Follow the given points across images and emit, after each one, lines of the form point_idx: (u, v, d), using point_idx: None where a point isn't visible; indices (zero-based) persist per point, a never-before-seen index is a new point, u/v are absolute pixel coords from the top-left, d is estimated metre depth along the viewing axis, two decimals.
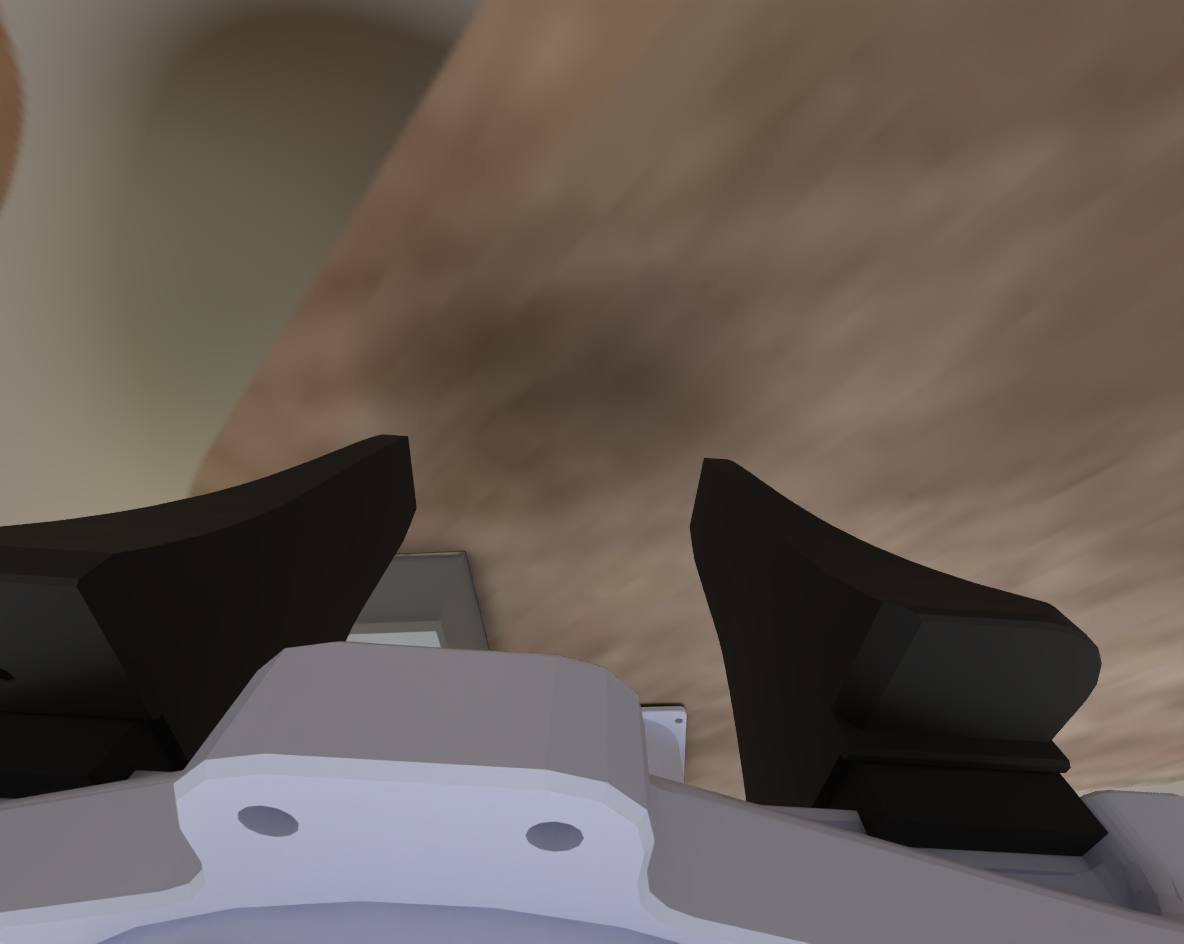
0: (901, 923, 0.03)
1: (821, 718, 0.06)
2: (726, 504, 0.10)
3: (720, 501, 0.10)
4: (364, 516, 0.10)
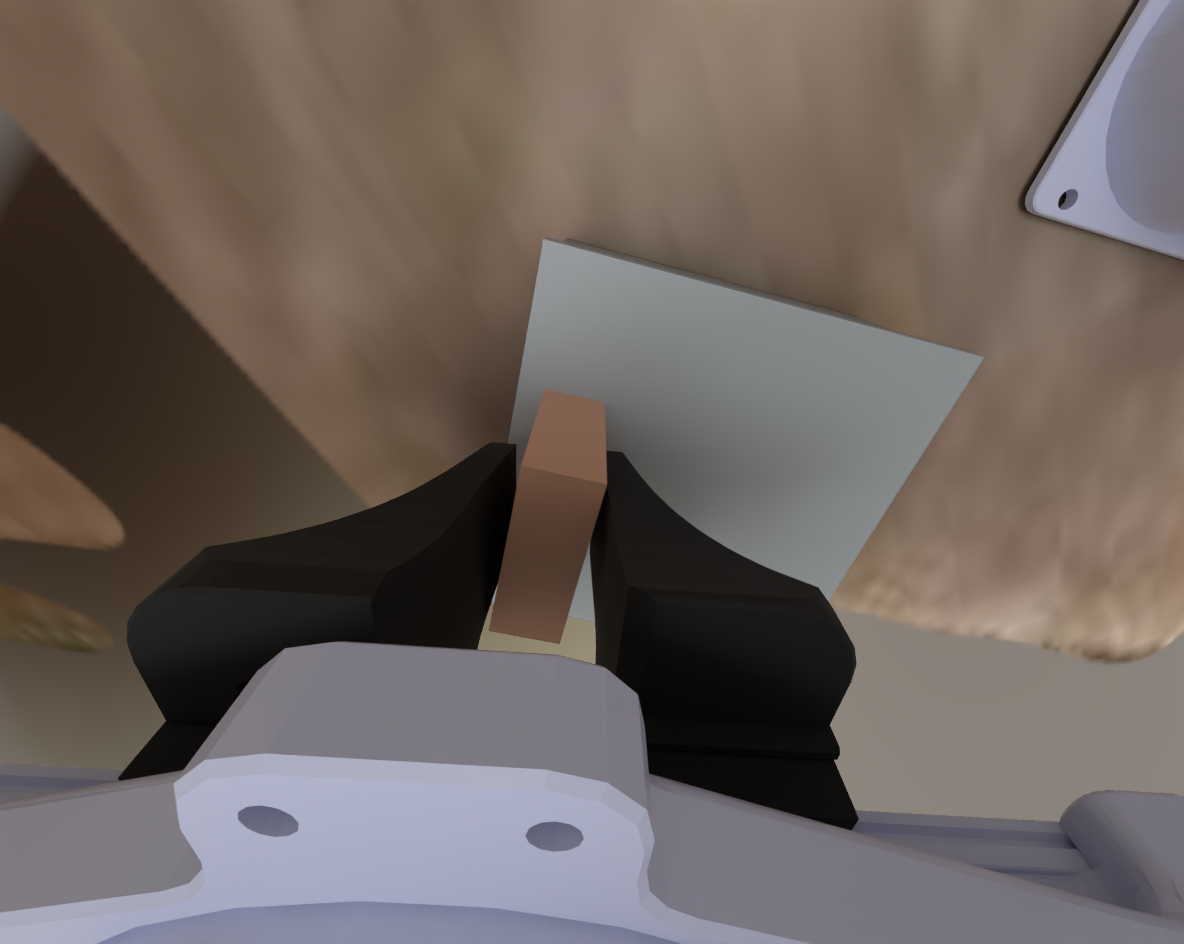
0: (901, 922, 0.03)
1: None
2: None
3: None
4: (493, 525, 0.10)
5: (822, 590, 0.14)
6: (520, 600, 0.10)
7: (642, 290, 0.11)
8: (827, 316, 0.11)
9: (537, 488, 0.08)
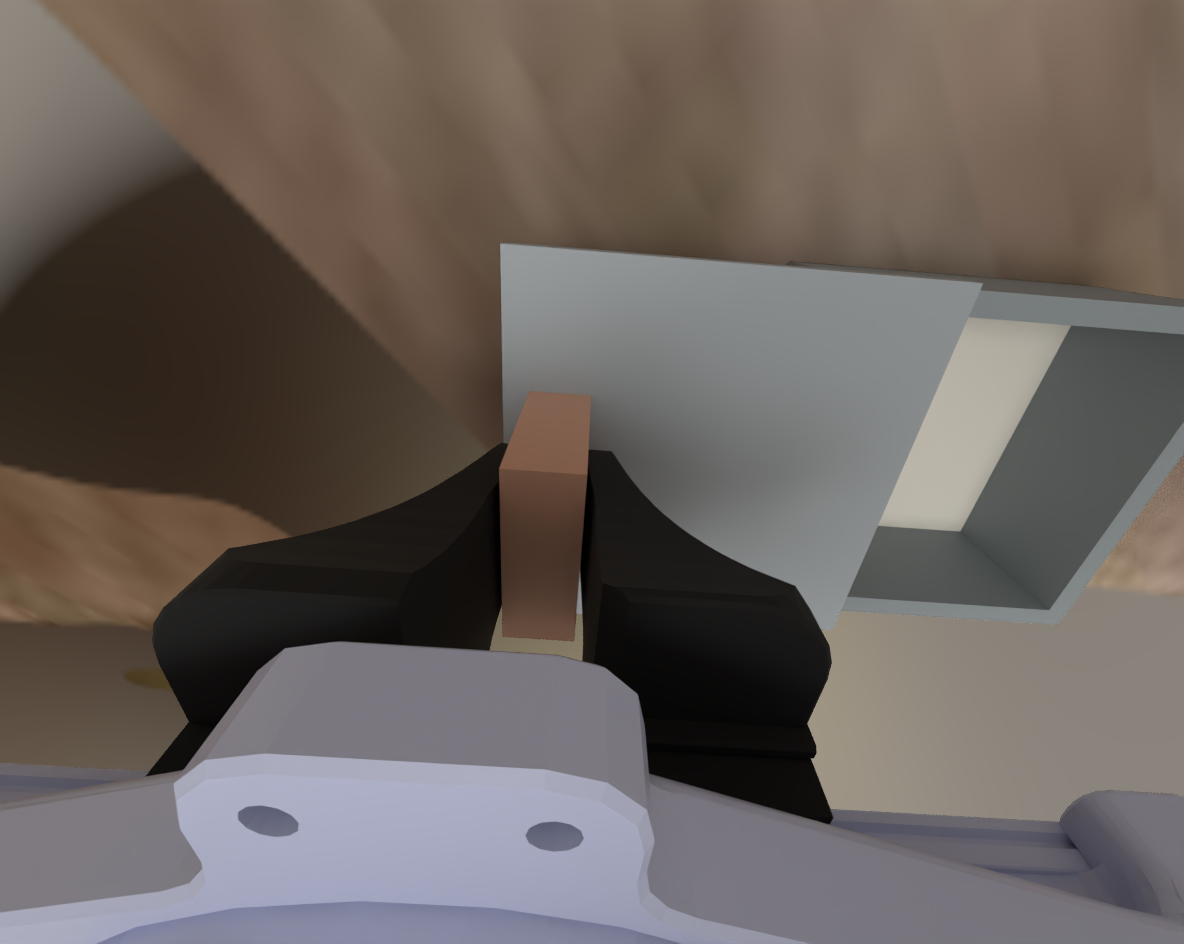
0: (901, 923, 0.03)
1: None
2: (588, 494, 0.10)
3: (586, 492, 0.10)
4: None
5: (852, 555, 0.14)
6: (526, 602, 0.10)
7: (607, 276, 0.10)
8: (803, 269, 0.10)
9: (519, 488, 0.08)
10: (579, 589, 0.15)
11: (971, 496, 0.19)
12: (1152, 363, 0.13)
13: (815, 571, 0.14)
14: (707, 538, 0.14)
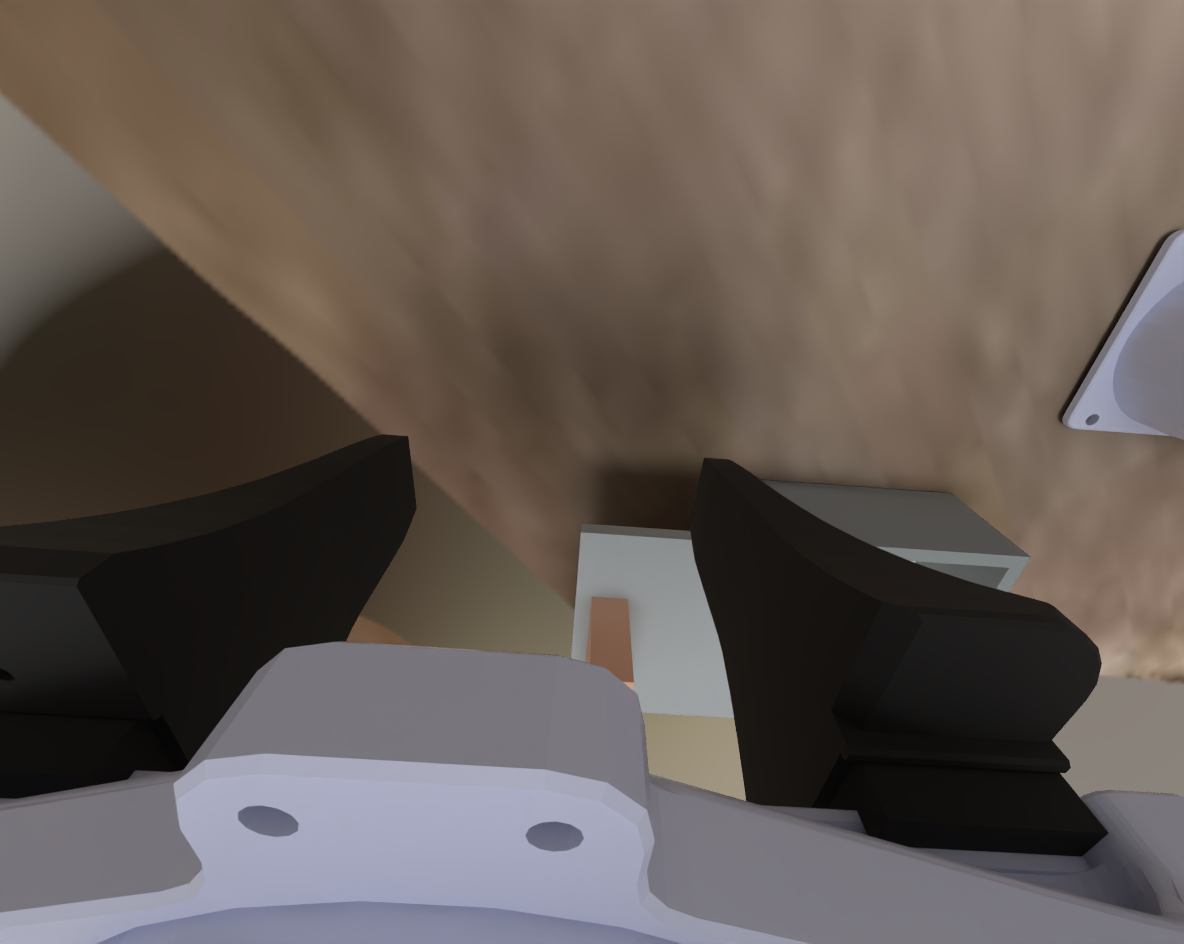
0: (901, 923, 0.03)
1: (821, 718, 0.06)
2: (726, 504, 0.10)
3: (720, 501, 0.10)
4: (365, 516, 0.10)
5: None
6: None
7: (639, 546, 0.19)
8: None
9: None
10: None
11: None
12: None
13: None
14: (697, 670, 0.22)
